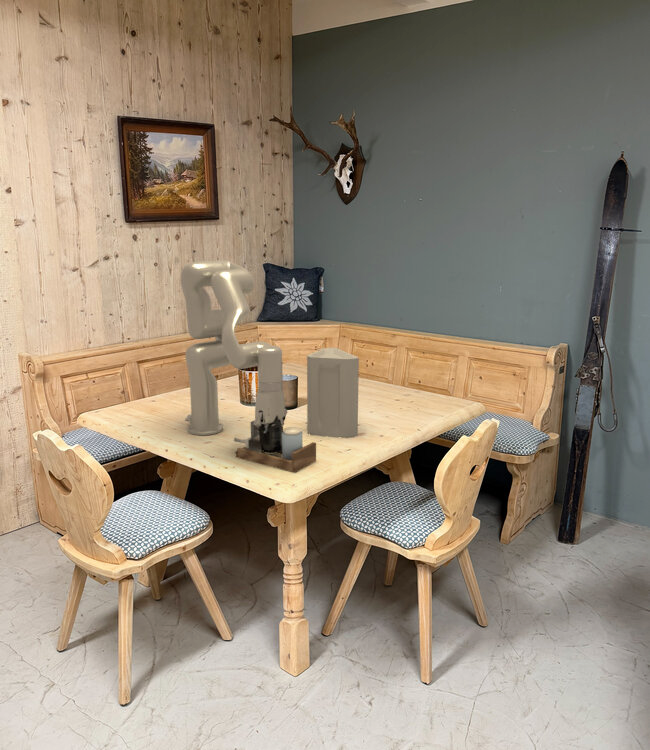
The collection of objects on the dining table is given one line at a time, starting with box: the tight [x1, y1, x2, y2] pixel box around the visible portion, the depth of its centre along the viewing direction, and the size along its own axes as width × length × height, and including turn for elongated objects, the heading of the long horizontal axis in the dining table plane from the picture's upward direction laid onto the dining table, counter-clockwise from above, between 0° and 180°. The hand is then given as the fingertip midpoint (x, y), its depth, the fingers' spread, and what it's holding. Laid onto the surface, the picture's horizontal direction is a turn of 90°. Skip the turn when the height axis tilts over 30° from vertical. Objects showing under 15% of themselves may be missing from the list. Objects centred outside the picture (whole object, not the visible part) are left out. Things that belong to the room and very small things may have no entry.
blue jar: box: [281, 426, 304, 461], centre depth 205 cm, size 6×6×11 cm
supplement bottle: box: [261, 416, 282, 454], centre depth 209 cm, size 7×7×12 cm
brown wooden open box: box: [235, 442, 317, 473], centre depth 209 cm, size 23×11×6 cm, turn 57°
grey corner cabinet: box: [306, 347, 360, 439], centre depth 233 cm, size 19×15×28 cm
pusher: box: [233, 419, 263, 453], centre depth 215 cm, size 9×8×11 cm
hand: (271, 440), depth 209 cm, fingers closed on supplement bottle, 6 cm apart
